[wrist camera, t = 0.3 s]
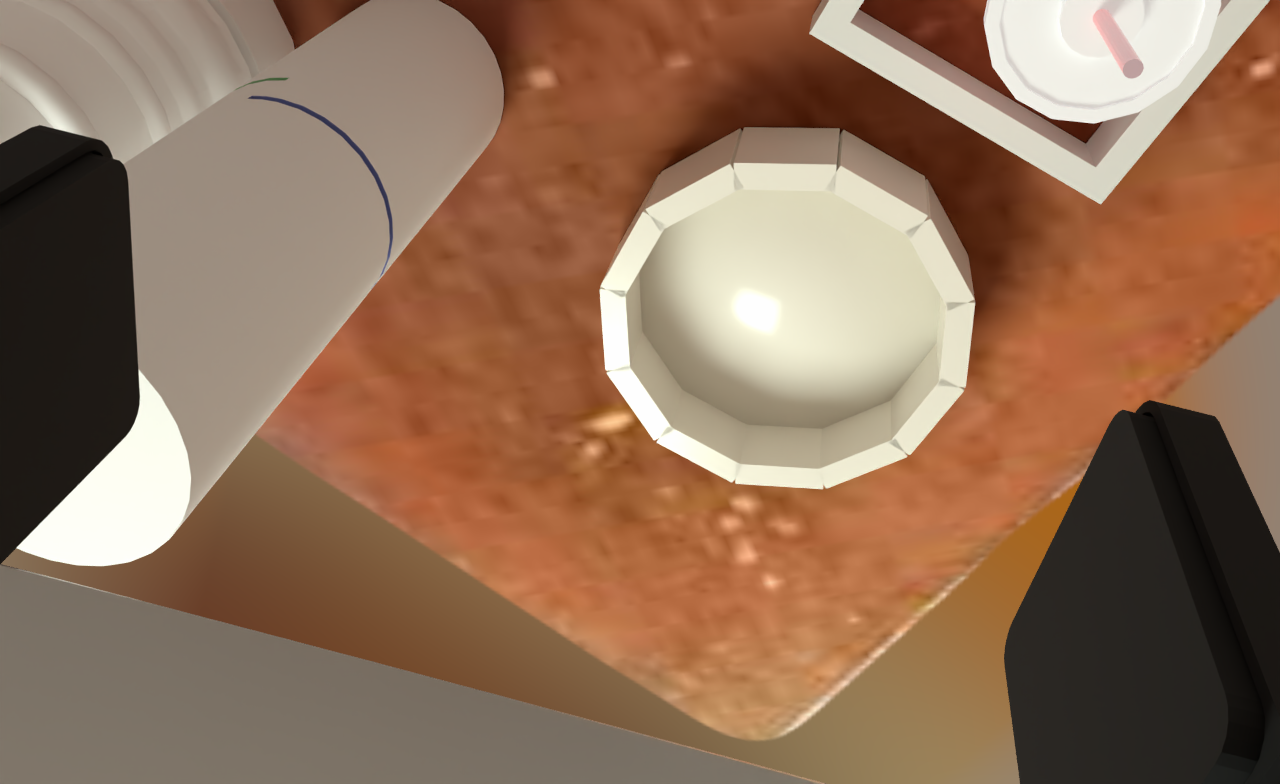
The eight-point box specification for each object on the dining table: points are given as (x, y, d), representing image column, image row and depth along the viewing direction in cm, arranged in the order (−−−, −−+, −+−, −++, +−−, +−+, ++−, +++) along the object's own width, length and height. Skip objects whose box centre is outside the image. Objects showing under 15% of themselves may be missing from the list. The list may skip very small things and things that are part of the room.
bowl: (723, 60, 44) (711, 91, 41) (1039, 242, 45) (1051, 286, 42) (566, 338, 51) (545, 383, 48) (841, 486, 53) (839, 539, 50)
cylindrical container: (494, 189, 48) (196, 597, 27) (326, 150, 49) (-94, 523, 28) (514, 15, 44) (184, 336, 23) (331, -26, 45) (-153, 253, 24)
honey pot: (239, 268, 52) (-20, 514, 37) (-29, 104, 50) (-416, 295, 35) (353, 27, 46) (94, 208, 31) (50, -173, 44) (-389, -85, 29)
